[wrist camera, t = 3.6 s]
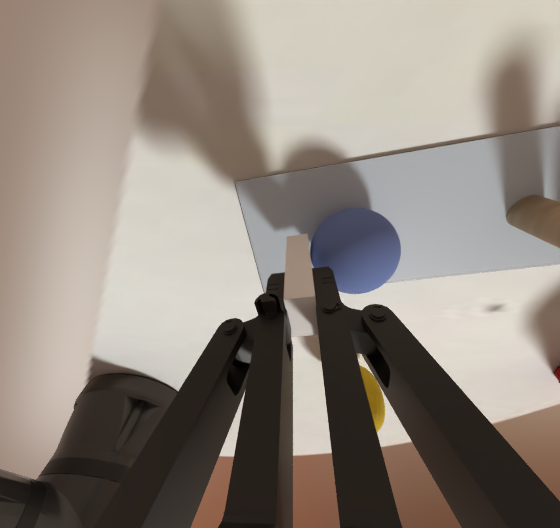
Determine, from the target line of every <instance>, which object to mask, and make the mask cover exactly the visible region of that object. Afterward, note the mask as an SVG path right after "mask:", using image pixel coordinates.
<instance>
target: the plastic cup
mask: <svg viewBox="0 0 560 528" xmlns="http://www.w3.org/2000/svg"><path fill="white" fill-rule="evenodd" d="M555 376H556V378H557V379H558V380H559V383H560V367H558V369H557V370H556V371H555Z"/></svg>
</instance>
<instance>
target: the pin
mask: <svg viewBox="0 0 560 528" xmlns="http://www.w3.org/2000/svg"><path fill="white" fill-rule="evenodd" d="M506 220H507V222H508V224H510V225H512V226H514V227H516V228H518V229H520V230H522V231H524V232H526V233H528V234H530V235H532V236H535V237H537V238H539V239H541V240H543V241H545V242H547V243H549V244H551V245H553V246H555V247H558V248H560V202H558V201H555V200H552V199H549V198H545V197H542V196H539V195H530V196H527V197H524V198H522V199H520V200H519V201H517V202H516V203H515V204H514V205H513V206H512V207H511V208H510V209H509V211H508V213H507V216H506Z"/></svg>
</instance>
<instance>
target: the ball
mask: <svg viewBox="0 0 560 528" xmlns="http://www.w3.org/2000/svg"><path fill="white" fill-rule="evenodd" d="M310 256H311V262H312V265H313V267H314V268H319V267H327V266H328V267H329V268H331V269H332V270H333V273H334V277H335V281H336V285H337V288H338V291H340V292H344V293H349V294H361V293H366V292H370V291H372V290H375V289H377V288H379V287H380V286H382V285H383V284H384V283H386V282H387V281H388V280H389V279H390V278H391V276H392V275H393V274H394V272H395V270H396V269H397V266H398V264H399V261H400V256H401V245H400V239H399V236H398V234H397V232H396V230H395V228H394V227H393V225H392V224H391V223H390V222H389V221H388V220H387V219H386V218H385V217H384V216H382V215H381V214H379V213H377V212H375V211H372V210H369V209H365V208H348V209H344V210H340V211H338V212H336V213H334V214H332V215H330V216H329V217H327V218H326V219H325V220H324V221H323V222H322V223H321V224H320V225H319V227H318V228H317V230H316V231H315V233H314V235H313V238H312V241H311V247H310Z"/></svg>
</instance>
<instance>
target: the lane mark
mask: <svg viewBox="0 0 560 528" xmlns="http://www.w3.org/2000/svg"><path fill="white" fill-rule="evenodd" d="M235 185H236V189H237V193H238V196H239V200H240V204H241V208H242V211H243V215H244V219H245V223H246V226H247V230H248V234H249V237H250V241H251V245H252V249H253V252H254V256H255V260H256V263H257V267H258V271H259V275H260V278H261V282H262V286H263V290H264V293H266V287H267V281H268V278H269V277H270V275H271V274H274V273H283V272H285V261H286V242H287V236H294V235H301V234H308V241H309V249H310V247H311V241H312V238H313V235H314V233H315V231H316V230H317V228H318V227H319V225H320V224H321V223H322V222H323V221H324V220H325V219H326V218H327V217H329V216H330V215H332V214H334V213H336V212H338V211H340V210H344V209H348V208H365V209H369V210H372V211H375V212H377V213H379V214H381V215H382V216H384V217H385V218H386V219H387V220H388V221H389V222H390V223H391V224H392V225H393V227H394V228H395V230H396V232H397V234H398V236H399V239H400V245H401V256H400V261H399V264H398V266H397V269H396V270H395V272H394V274H393V275H392V276H391V278H390V279H389V280H388V281H387V282H386V283H391V282H401V281H410V280H419V279H428V278H438V277H447V276H456V275H465V274H474V273H484V272H493V271H502V270H511V269H521V268H530V267H539V266H548V265H558V264H560V248H558V247H555V246H553V245H551V244H549V243H547V242H545V241H543V240H541V239H539V238H537V237H535V236H532V235H530V234H528V233H526V232H524V231H522V230H520V229H518V228H516V227H514V226H512V225H510V224H508V222H507V220H506V216H507V213H508V211H509V209H510V208H511V207H512V206H513V205H514V204H515V203H516V202H517V201H519V200H520V199H522V198H524V197H527V196H530V195H539V196H542V197H545V198H549V199H552V200H555V201H558V202H560V126H555V127H549V128H543V129H537V130H532V131H526V132H520V133H514V134H508V135H503V136H497V137H491V138H485V139H479V140H474V141H468V142H462V143H456V144H450V145H445V146H439V147H433V148H427V149H422V150H416V151H410V152H404V153H398V154H393V155H387V156H381V157H375V158H369V159H364V160H358V161H352V162H346V163H340V164H335V165H329V166H323V167H317V168H311V169H306V170H300V171H294V172H288V173H282V174H277V175H271V176H265V177H259V178H254V179H248V180H242V181H236V182H235ZM311 264H312V262H311ZM312 268H314V267H313V265H312Z"/></svg>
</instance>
